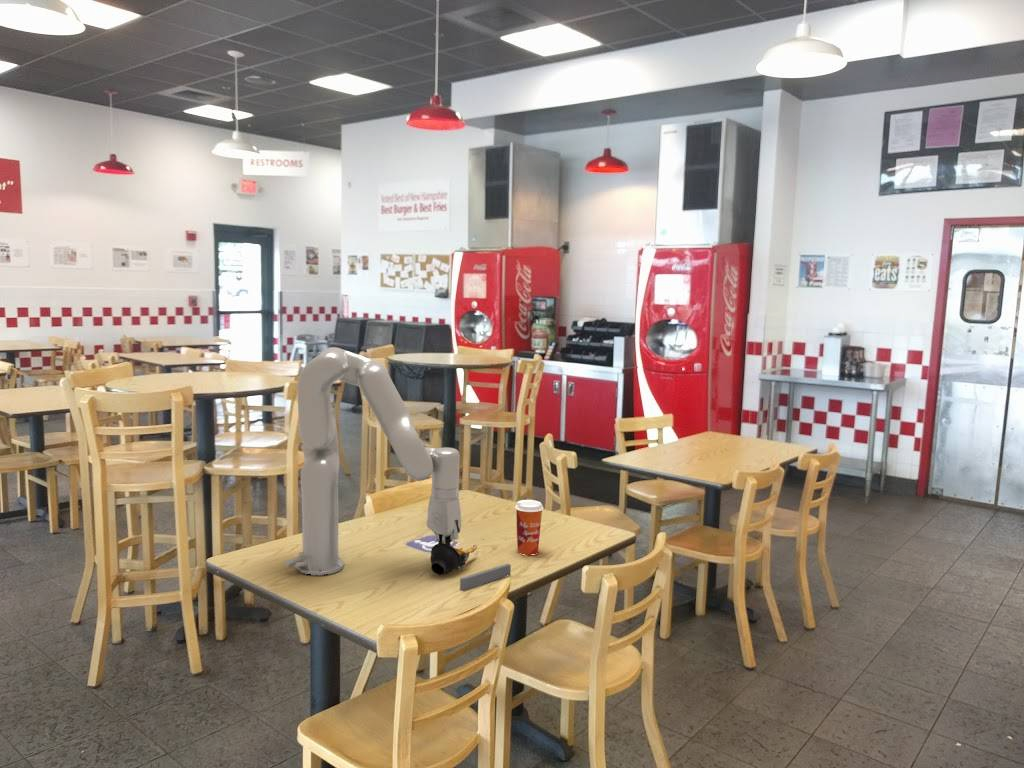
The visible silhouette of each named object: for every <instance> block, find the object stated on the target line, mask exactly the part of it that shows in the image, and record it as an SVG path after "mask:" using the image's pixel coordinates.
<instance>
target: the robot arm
mask: <svg viewBox="0 0 1024 768" xmlns="http://www.w3.org/2000/svg"><path fill="white" fill-rule="evenodd" d="M337 381H341V382H344V383H347V384H350V385H353V386H356V387H359V389H360V392H361V393H362V395H363V396H364V398H365V400H366V402H367V404H368V405H369V407H370V409H371V410H372V413H373V415H374V416H375V418H376V420H377V422H378V424H379V425H380V428H381V429H382V432H383V434H384V436H385V437H386V438H387V440H388V441H389V444H390V445H391V447H392V449H393V451H394V454H395V456H396V458H397V459H398V460H399V462H400V464H401V465H402V467H403V469H404V471H405V473H406V475H407V476H408V477H409V478H410V479H412V480H414V481H419V482H420V481H425V480H427V479H428V478H429V477H431V494H430V495H429V501H428V507H427V518H426V519H427V520H426V525H427V526H426V527H427V528H428V529H429V530H430V531H431V532H433V533H434V534H435V536H436V542H437V544H439V543H445V544H448V545H451V546H452V542H453V541H455V540H456V541H457V540H459V533H460V532H461V527H462V526H461V525H462V514H461V513H462V511H461V503H460V499H459V497H460V491H459V490H460V461H461V460H460V457H461V455H460V452H459V450H458V449H456V448H454V447H439V448H437V447H436V448H435V447H428V446H425V445H424V444H423V442H422V440H421V438H420V436H419V434H418V432H417V430H416V427H415V425H414V423H413V419H412V417H411V413H410V411H409V409H408V408H407V405H406V404H405V402H404V400H403V398H402V397H401V395H400V393H399V392H398V389H397V387H396V385H395V384H394V382H393V380H392V378H391V376H390V374H389V372H388V368H386V366H385V365H384V364H383V363H382V362H379V360H378V361H377V360H375V359H371V358H368V357H366V356H362V355H360V354H357V353H354V352H351V351H348V350H345V349H343V348H340V347H336V346H335V347H333V346H332V347H327V348H325V349H323V350H322V351H321V352H320V353H319V354H318V355H317V356H315V357H313V359H311V360H310V361H309V362H308V363H306V364H305V366H304V367H303V368H302V370H301V372H300V374H299V376H298V379H297V388H296V390H297V394H296V395H297V409H298V412H297V413H298V425H299V426H298V428H299V429H298V433H299V437H300V441H301V443H302V447H303V456H304V457H303V458H304V462H303V465H302V467H301V473H300V489H301V513H302V514H301V516H302V517H301V520H302V521H301V523H302V525H301V528H302V530H301V531H302V535H301V536H302V538H301V539H302V541H301V542H302V551H300V552H298V555H297V556H296V557H295V558H290V559H286V560H285V562H284V563H285V567H286V568H291V567H294V568H295V569H296V570H297V571H298V570H299V571H300V572H302V573H301V574H303V573H305V574H304V575H306V574H311V575H310V576H316V575H317V576H325V575H326V574H328V575H331V574H335V573H338V572H340V571H341V570H343V568H344V567H345V560H344V559H343V558H341V557H339V471H340V451H339V440H338V439H339V438H338V437H339V436H338V428H337V422H336V419H335V417H334V416H333V414H332V401H331V400H332V399H331V388H332V386H333V385H334V384H335V383H336V382H337ZM299 571H298V572H299ZM300 572H299V573H300ZM324 574H325V575H324Z"/></svg>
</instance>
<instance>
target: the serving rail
mask: <svg viewBox="0 0 1024 768" xmlns="http://www.w3.org/2000/svg"><path fill="white" fill-rule="evenodd" d="M511 571H512V570H511V564H510V563H504V564H501V565H498V566H495V567H491V568H489V569H486V570H482V571H478V572H476V573H472V574H469V575H467V576H463V577H460V578H459V579H460V580H459V590H460V591H467V590H470V589H473V588H475V587H479V586H482V585H485V584H488V583H492V582H495V581H497V580H500V579H503V578H506V577H505V576H507V575H509V574H510V575H511ZM507 577H508V576H507Z"/></svg>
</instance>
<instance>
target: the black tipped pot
mask: <svg viewBox="0 0 1024 768" xmlns="http://www.w3.org/2000/svg"><path fill="white" fill-rule="evenodd" d="M477 549H478V545H476V544H475V545H473V546H471V547H470V548H468V549H467V550H463V548H462V547H460V548H457V547H454V546H452V544H451V545H448V544H445V543H439V544H438V543H437V544H436V543H435V544H434V545H433V546H432V547H431V551H430V563H431V567H430V568H431V572H433V573H434V574H435V575H437V576H443V575H446V574H450V573H451V572H453V571H454V570H455V571H458V570H460V569H462V568H464V567H466V566H467V563H466V562H467V561H468V559H469V557H470V554H471V553H474V552H475V551H476V550H477Z"/></svg>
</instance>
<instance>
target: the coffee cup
mask: <svg viewBox="0 0 1024 768" xmlns="http://www.w3.org/2000/svg"><path fill="white" fill-rule="evenodd" d="M515 510H516V511H515V512H516V539H517V540H516V542H517V543H516V545H517V546H516V547H517V553H518V554H519V553H521V554H525V555H531V554H536V553H537V552H538V553H539V548H540V547H539V545H540V538H541V537H540V536H541V535H540V534H541V524H542V513H543V510H544V506H543V504H542V502H541V501H538V500H534V499H521V500H517V502H516V505H515ZM538 553H537V554H538ZM521 554H520V555H521ZM537 554H536V555H537Z"/></svg>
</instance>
